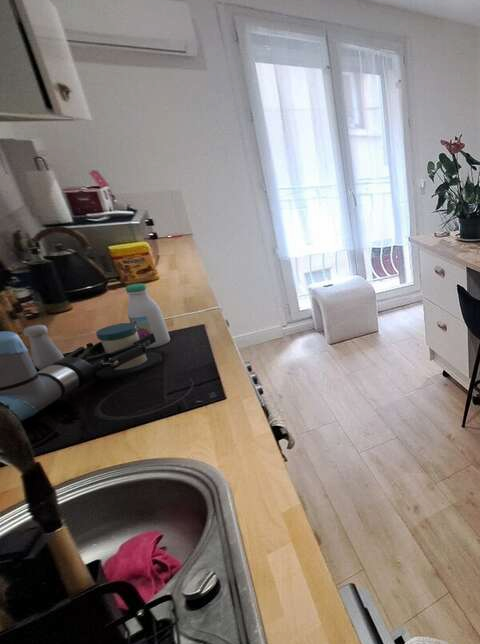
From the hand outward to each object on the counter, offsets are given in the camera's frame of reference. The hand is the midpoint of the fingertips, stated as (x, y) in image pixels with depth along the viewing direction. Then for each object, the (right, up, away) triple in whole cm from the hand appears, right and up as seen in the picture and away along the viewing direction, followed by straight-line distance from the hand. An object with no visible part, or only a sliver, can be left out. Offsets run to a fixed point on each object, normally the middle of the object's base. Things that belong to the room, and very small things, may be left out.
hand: (135, 338), depth 120 cm
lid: (+1, +3, -6) cm, 7 cm away
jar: (+1, -7, -2) cm, 7 cm away
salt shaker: (-21, -8, -3) cm, 22 cm away
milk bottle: (-5, -3, +12) cm, 13 cm away
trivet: (0, -8, -2) cm, 8 cm away
